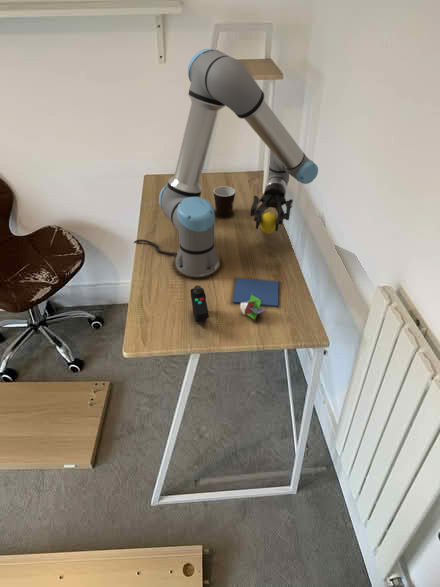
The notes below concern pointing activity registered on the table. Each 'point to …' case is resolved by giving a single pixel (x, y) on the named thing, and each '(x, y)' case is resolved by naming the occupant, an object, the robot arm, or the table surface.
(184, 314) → the table surface
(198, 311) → the controller
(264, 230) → the lemon
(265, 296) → the blue mat
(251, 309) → the geometric puzzle
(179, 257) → the robot arm
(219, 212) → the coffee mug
